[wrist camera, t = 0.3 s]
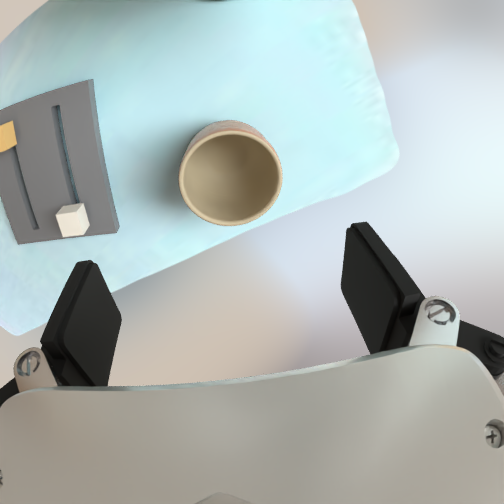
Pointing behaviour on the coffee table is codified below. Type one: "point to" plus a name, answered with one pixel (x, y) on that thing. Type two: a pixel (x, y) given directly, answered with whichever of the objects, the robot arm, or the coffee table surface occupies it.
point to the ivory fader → (73, 220)
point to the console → (55, 165)
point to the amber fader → (7, 136)
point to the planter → (230, 174)
